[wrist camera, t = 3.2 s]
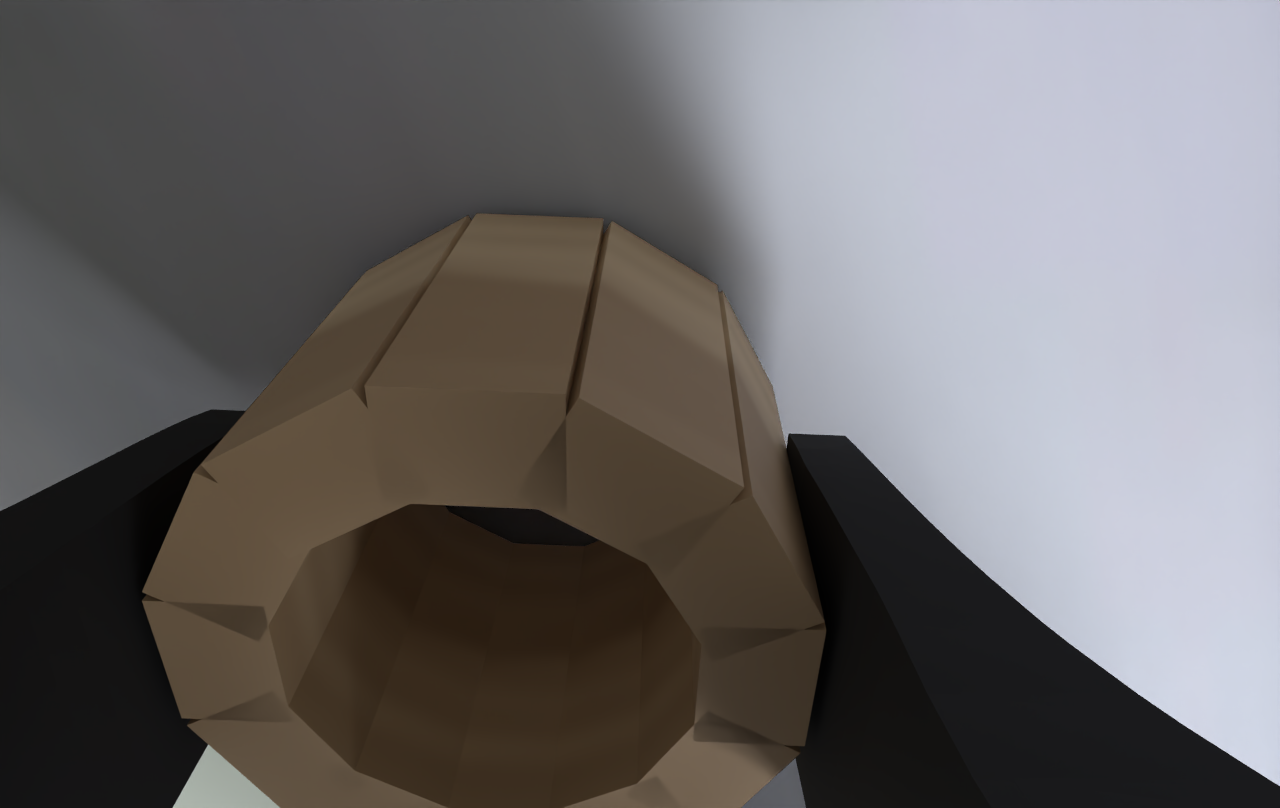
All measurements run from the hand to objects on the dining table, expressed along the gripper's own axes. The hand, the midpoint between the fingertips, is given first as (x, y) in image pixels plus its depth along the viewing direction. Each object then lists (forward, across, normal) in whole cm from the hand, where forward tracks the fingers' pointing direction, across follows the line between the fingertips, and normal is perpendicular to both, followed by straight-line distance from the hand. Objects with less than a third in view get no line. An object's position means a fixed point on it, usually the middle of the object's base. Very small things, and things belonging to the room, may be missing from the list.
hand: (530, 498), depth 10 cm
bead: (+1, 0, 0) cm, 1 cm away
